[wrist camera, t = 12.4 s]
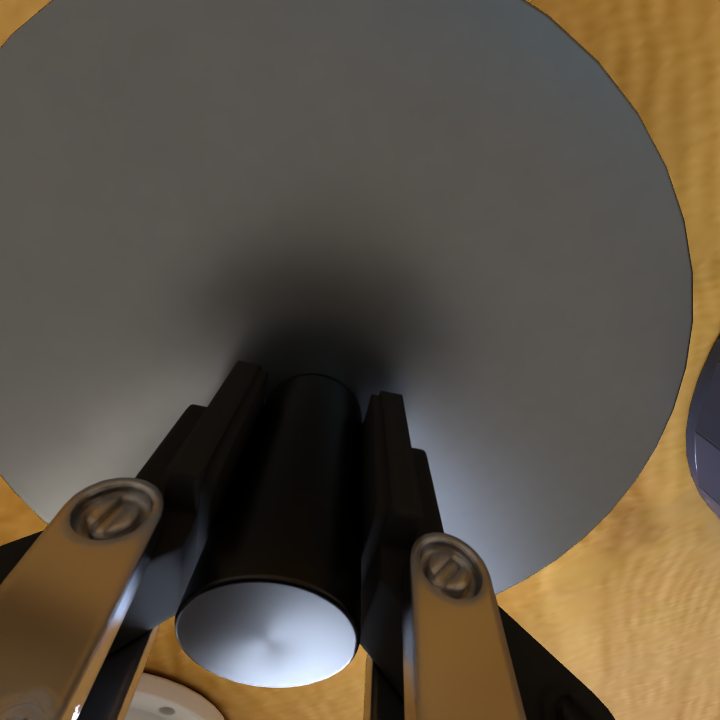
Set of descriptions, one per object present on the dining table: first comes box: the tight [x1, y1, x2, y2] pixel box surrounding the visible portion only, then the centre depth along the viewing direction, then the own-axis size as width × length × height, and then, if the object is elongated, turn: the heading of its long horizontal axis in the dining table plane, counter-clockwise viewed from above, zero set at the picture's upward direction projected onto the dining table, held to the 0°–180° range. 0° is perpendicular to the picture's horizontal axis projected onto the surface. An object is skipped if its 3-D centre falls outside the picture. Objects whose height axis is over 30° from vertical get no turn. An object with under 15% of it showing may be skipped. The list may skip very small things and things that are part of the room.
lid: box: [0, 0, 693, 688], centre depth 8 cm, size 19×19×7 cm
